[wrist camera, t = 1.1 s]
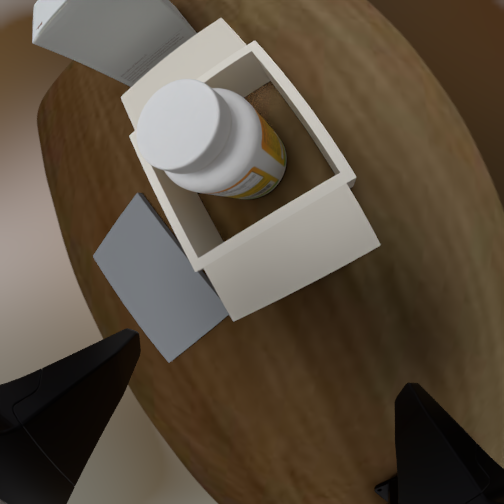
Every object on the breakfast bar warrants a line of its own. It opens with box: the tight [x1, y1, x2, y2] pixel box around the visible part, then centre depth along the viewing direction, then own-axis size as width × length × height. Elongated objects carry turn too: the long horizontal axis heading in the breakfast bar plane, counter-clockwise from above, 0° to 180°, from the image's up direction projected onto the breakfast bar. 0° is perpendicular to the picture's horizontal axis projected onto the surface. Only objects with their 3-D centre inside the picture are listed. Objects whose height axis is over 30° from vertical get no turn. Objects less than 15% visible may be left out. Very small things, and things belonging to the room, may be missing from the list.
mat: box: [93, 193, 229, 363], centre depth 23 cm, size 12×8×1 cm, turn 43°
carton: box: [121, 18, 381, 322], centre depth 17 cm, size 17×10×4 cm, turn 31°
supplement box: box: [32, 0, 197, 87], centre depth 15 cm, size 7×7×13 cm
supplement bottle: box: [136, 79, 286, 199], centre depth 15 cm, size 5×5×10 cm
